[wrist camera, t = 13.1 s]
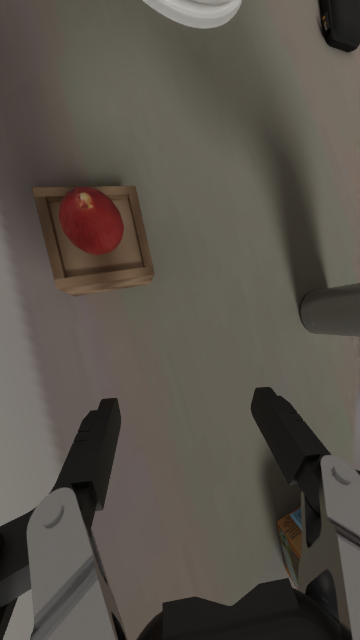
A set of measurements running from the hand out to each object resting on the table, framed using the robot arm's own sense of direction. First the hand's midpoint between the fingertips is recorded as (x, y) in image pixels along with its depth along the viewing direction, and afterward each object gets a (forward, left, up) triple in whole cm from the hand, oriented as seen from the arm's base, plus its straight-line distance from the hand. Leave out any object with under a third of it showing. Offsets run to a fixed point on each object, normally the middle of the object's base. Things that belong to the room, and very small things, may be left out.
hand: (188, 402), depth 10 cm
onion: (+4, -16, -13) cm, 21 cm away
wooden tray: (+4, -16, -18) cm, 25 cm away
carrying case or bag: (-56, -63, -19) cm, 86 cm away
